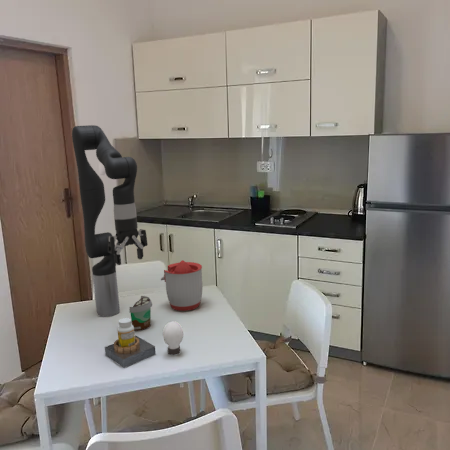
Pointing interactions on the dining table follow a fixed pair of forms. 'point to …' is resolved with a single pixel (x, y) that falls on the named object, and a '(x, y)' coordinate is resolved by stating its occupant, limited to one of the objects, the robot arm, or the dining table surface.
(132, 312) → the food container
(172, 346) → the light bulb
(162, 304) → the dining table surface
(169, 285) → the citrus juicer
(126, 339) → the supplement bottle
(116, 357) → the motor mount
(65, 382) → the dining table surface
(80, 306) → the dining table surface
